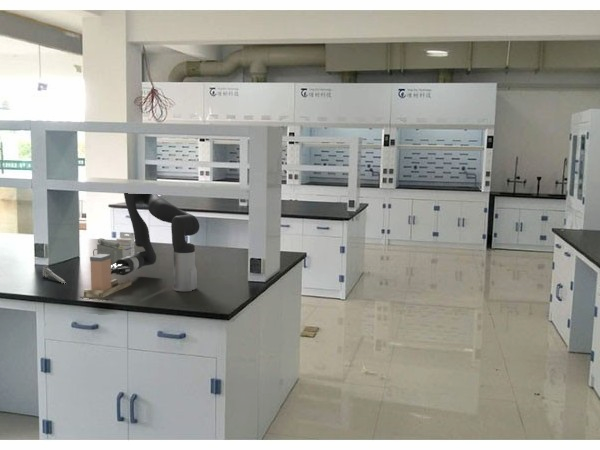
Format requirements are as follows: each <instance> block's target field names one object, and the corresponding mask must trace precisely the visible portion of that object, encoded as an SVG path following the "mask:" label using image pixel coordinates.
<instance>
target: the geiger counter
mask: <svg viewBox="0 0 600 450" xmlns="http://www.w3.org/2000/svg"><path fill="white" fill-rule="evenodd" d="M97 243H98V244H97ZM97 243H96V248H95V249H93V251H92V254H93V255H92V256H95V255H98V254H109V255H111V265H113V264H115V262H116V261H117V260H119V259H121V258H123V250H122V249H121V248H118V247H119V246H120V244H119V243H117V241H116V242H115V241H111V240H107V239H105V238H101V237H100V238H98V240H97ZM95 251H96V253H97V254H95Z"/></svg>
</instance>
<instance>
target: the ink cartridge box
mask: <svg viewBox="0 0 600 450" xmlns="http://www.w3.org/2000/svg"><path fill="white" fill-rule="evenodd" d="M116 243H119V244H120V246H119V247H118V248H121V249H122V250H123V258H124V257H127V256H131V255H134V254H135V238H134V232H124V231H120V232H119V237H118V238H116Z"/></svg>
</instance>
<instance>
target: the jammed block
mask: <svg viewBox="0 0 600 450" xmlns="http://www.w3.org/2000/svg"><path fill="white" fill-rule="evenodd" d="M94 255H95V256H94ZM94 255H92V256H90V257H89V260H90V287H91V288H90V289H92V290H103V291H105V290H108V289H110V288H112V286H111V281H112V274H111V255H109V254H98V255H97V254H94Z"/></svg>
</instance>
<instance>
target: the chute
mask: <svg viewBox="0 0 600 450" xmlns="http://www.w3.org/2000/svg"><path fill="white" fill-rule="evenodd" d="M118 281H119V280H118V278H117V279H116V278H114V279H111V288H110V289H108V290H105V291H103V290H92V289H91V288H84V289H83V296H79V299H80V298H89V299H88V300H90V299H98V300H97V301H100V300H107V301H108V298H106V297H107V296H110V295H112V294H114V293H117V292H119V291H120V290H123V289H125V288H128V287H130V286H132V285H133V284H132V282H133V281H132V280H130V279H128V280H126V281H124V282H122V283H118ZM105 298H106V299H105Z"/></svg>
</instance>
